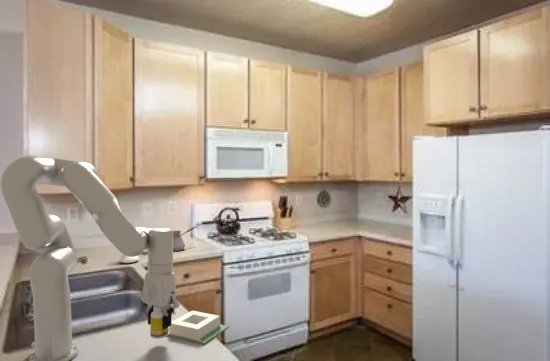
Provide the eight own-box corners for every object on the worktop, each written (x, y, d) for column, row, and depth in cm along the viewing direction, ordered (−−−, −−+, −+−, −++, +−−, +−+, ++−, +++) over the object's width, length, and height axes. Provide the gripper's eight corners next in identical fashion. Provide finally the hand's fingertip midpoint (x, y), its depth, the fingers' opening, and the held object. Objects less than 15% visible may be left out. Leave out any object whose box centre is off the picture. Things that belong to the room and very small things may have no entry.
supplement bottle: (163, 340, 117) (163, 308, 116) (147, 338, 118) (147, 307, 117) (171, 332, 122) (171, 302, 122) (155, 331, 123) (155, 301, 123)
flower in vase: (139, 263, 225) (138, 221, 224) (119, 265, 221) (117, 222, 220) (139, 258, 237) (137, 218, 237) (119, 260, 233) (118, 219, 232)
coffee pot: (171, 252, 252) (171, 230, 251) (165, 250, 261) (164, 228, 260) (201, 248, 264) (200, 226, 264) (194, 245, 274) (193, 225, 273)
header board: (160, 334, 127) (160, 322, 127) (187, 319, 140) (187, 308, 140) (204, 344, 119) (203, 332, 119) (228, 327, 132) (228, 316, 132)
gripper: (131, 266, 120) (130, 323, 120) (173, 274, 112) (172, 335, 112) (148, 262, 126) (148, 315, 127) (189, 269, 119) (188, 326, 119)
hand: (159, 324), depth 120 cm, fingers closed on supplement bottle, 5 cm apart
